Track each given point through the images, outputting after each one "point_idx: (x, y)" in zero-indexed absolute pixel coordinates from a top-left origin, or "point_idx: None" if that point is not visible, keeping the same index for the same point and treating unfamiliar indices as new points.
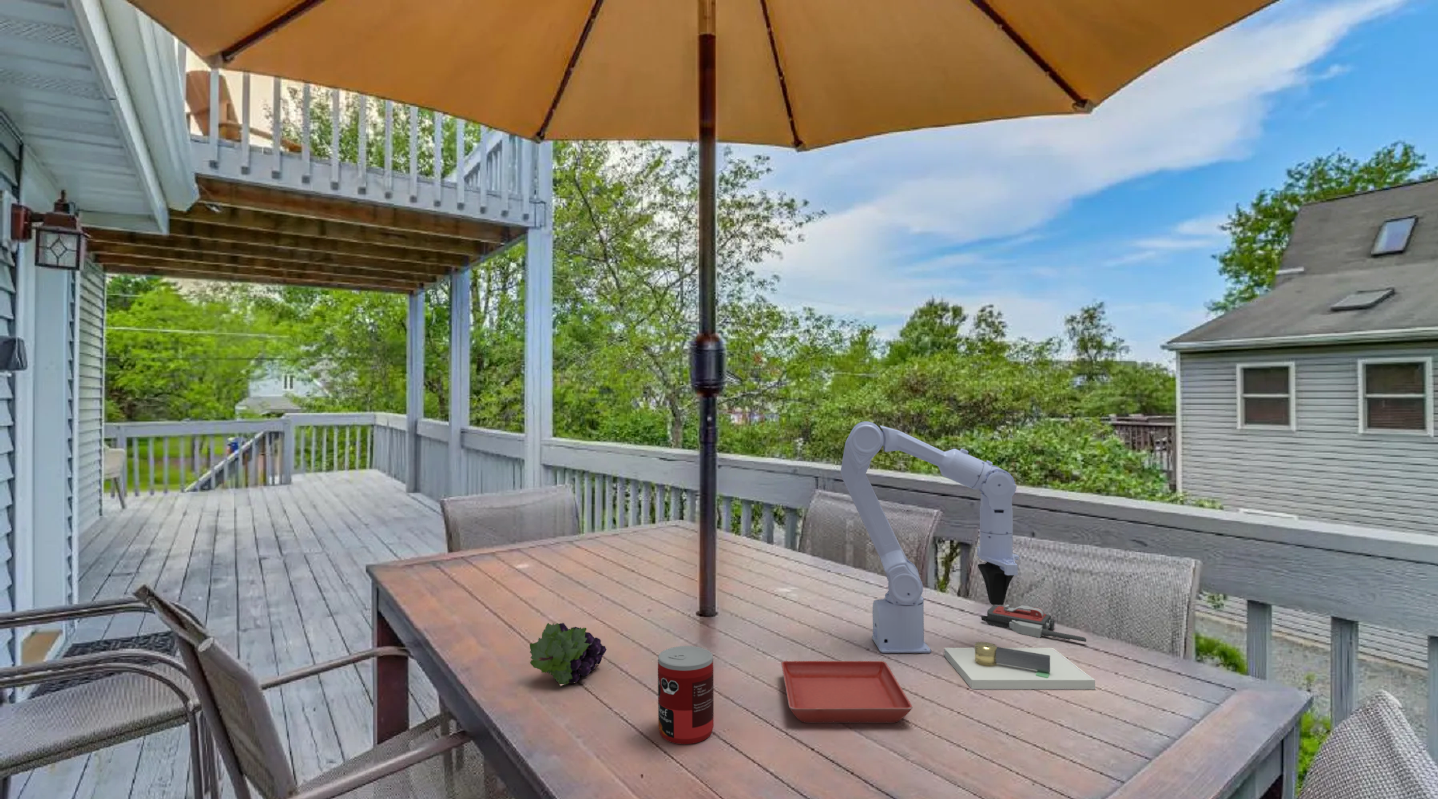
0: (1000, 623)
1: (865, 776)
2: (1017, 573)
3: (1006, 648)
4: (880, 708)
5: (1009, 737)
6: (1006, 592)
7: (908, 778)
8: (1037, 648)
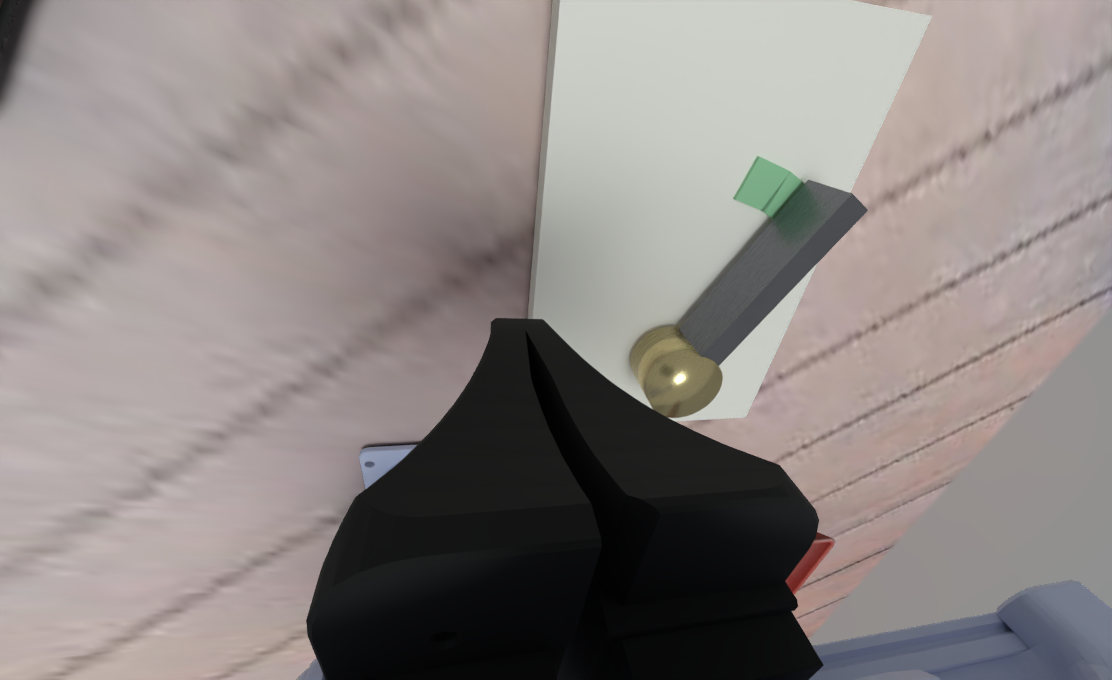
0: (11, 6)
1: (871, 553)
2: (1103, 604)
3: (725, 329)
4: (813, 570)
5: (915, 396)
6: (579, 356)
7: (901, 522)
8: (565, 65)
